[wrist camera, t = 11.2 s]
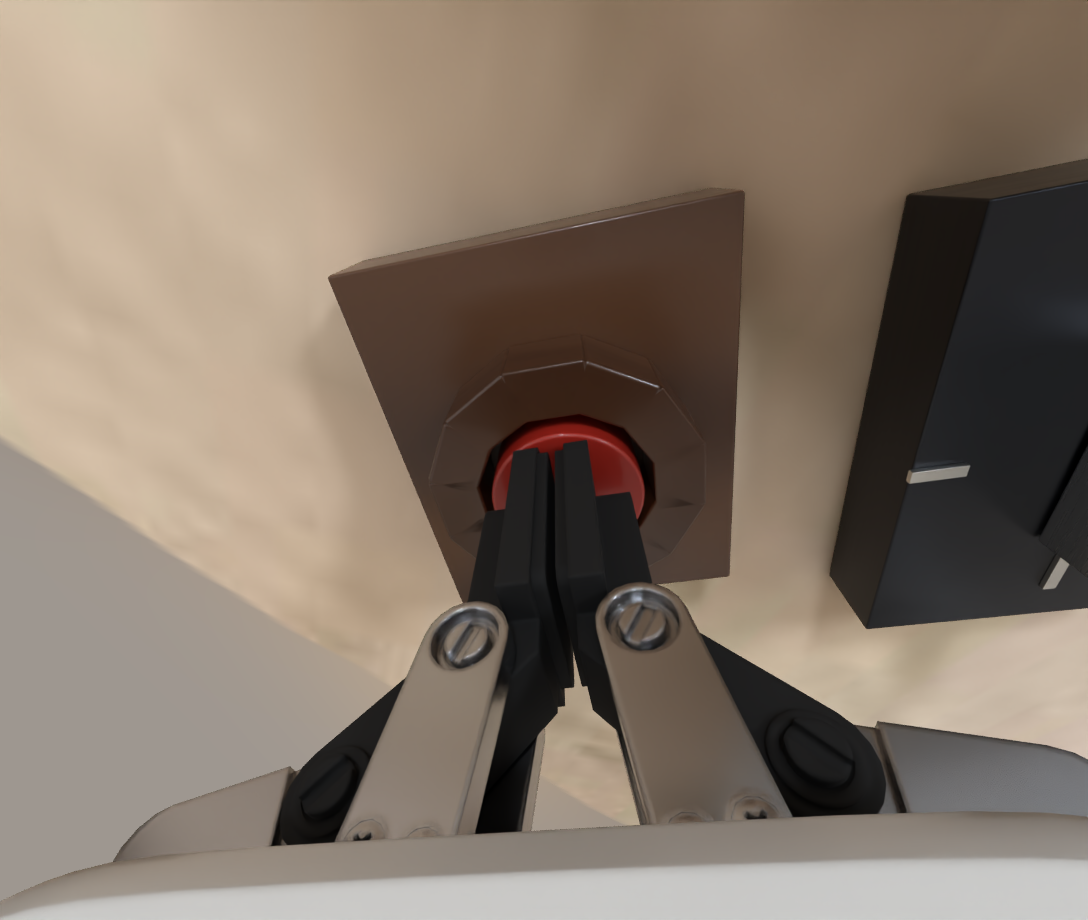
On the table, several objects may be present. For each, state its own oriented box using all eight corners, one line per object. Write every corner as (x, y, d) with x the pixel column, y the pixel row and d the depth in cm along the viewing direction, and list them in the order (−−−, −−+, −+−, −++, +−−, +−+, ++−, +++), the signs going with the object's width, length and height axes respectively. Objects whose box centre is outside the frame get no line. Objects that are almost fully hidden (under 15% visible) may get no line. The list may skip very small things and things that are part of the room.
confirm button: (639, 505, 13) (650, 548, 11) (515, 521, 13) (510, 565, 12) (628, 388, 11) (639, 422, 9) (484, 412, 11) (473, 448, 10)
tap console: (1122, 542, 16) (1213, 601, 14) (825, 575, 18) (865, 634, 15) (1415, 92, 10) (1677, 67, 7) (901, 194, 11) (991, 200, 9)
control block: (710, 531, 17) (750, 623, 13) (473, 561, 18) (453, 653, 14) (713, 186, 11) (785, 192, 7) (362, 260, 12) (284, 294, 8)
